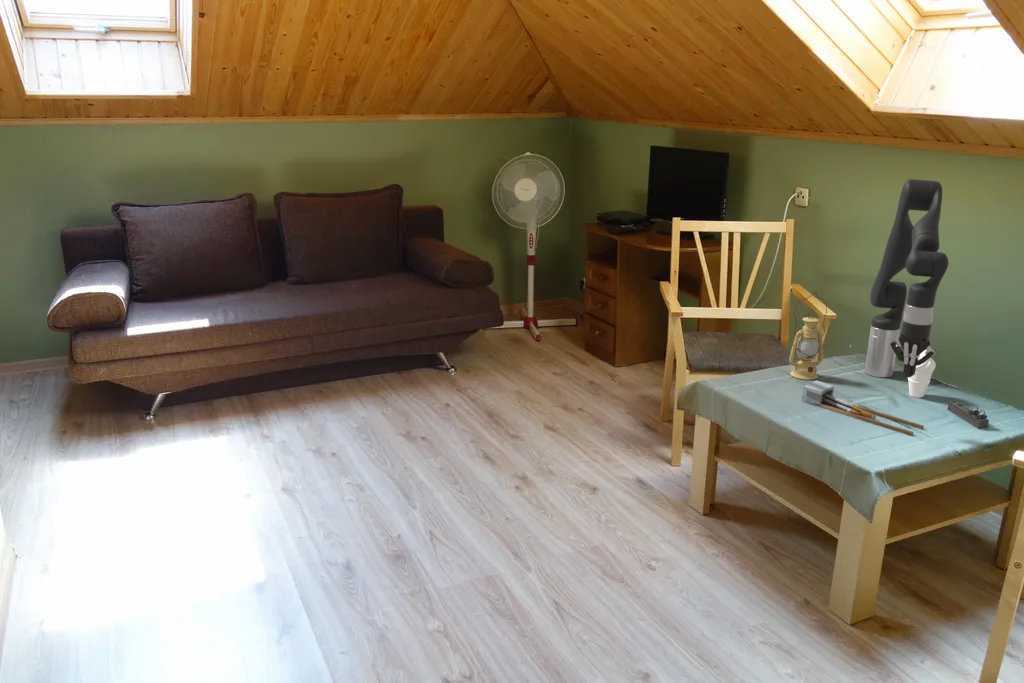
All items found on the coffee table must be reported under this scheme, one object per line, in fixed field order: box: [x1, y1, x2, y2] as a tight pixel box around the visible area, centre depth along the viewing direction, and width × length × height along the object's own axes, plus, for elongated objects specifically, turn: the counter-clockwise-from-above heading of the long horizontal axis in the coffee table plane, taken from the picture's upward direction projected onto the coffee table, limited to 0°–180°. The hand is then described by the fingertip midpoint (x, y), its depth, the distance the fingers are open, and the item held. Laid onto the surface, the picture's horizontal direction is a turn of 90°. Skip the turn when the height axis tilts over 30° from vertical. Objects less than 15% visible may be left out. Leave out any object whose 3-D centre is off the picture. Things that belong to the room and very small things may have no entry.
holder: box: [801, 379, 925, 437], centre depth 253 cm, size 8×35×5 cm, turn 41°
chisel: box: [822, 393, 877, 420], centre depth 257 cm, size 19×3×3 cm
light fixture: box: [947, 400, 990, 430], centre depth 250 cm, size 3×15×6 cm, turn 6°
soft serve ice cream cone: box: [907, 350, 937, 399], centre depth 266 cm, size 8×8×16 cm
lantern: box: [788, 292, 828, 381], centre depth 281 cm, size 12×10×30 cm
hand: (908, 376), depth 240 cm, fingers closed
